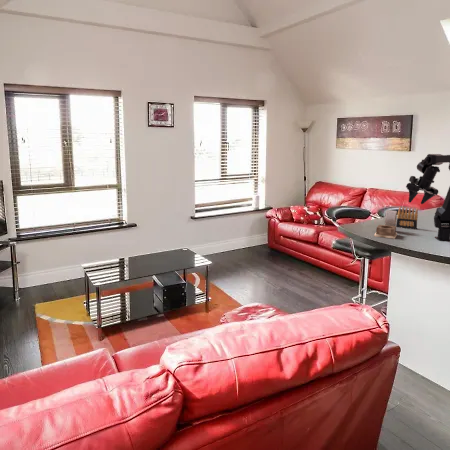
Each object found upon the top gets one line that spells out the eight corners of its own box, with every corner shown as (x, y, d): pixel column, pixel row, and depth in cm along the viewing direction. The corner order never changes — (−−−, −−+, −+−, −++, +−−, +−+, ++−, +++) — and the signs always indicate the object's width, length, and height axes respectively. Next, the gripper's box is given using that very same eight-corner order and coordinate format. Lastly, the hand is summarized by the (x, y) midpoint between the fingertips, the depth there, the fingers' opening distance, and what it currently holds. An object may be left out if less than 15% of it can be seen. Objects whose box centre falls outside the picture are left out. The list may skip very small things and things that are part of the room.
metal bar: (395, 230, 234) (396, 210, 232) (393, 232, 230) (395, 212, 228) (385, 229, 237) (387, 210, 234) (384, 231, 232) (385, 211, 230)
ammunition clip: (396, 227, 244) (398, 206, 241) (396, 226, 245) (398, 205, 243) (416, 229, 239) (418, 207, 236) (416, 228, 241) (418, 207, 238)
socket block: (397, 234, 225) (398, 226, 224) (394, 238, 217) (395, 230, 216) (377, 232, 230) (378, 224, 229) (374, 236, 221) (374, 227, 220)
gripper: (429, 173, 239) (417, 198, 246) (405, 169, 232) (393, 195, 238) (444, 181, 230) (431, 207, 236) (419, 176, 222) (406, 203, 229)
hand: (415, 203), depth 235 cm, fingers open, 9 cm apart
